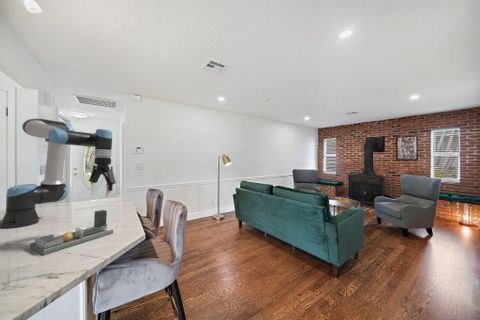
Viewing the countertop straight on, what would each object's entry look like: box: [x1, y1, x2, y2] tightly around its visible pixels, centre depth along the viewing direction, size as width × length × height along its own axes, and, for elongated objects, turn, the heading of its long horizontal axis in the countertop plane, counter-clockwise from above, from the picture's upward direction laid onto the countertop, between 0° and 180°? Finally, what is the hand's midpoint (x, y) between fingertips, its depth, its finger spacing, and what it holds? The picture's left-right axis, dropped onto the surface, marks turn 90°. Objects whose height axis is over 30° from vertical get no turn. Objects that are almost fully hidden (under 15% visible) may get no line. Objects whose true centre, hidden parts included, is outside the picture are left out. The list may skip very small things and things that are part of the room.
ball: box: [61, 232, 73, 242], centre depth 91 cm, size 4×4×4 cm
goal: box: [34, 234, 63, 251], centre depth 85 cm, size 10×6×4 cm, turn 65°
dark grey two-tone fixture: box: [74, 209, 108, 238], centre depth 100 cm, size 5×13×11 cm, turn 155°
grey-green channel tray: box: [28, 229, 114, 256], centre depth 94 cm, size 14×28×2 cm, turn 155°
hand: (101, 195), depth 104 cm, fingers open, 13 cm apart
